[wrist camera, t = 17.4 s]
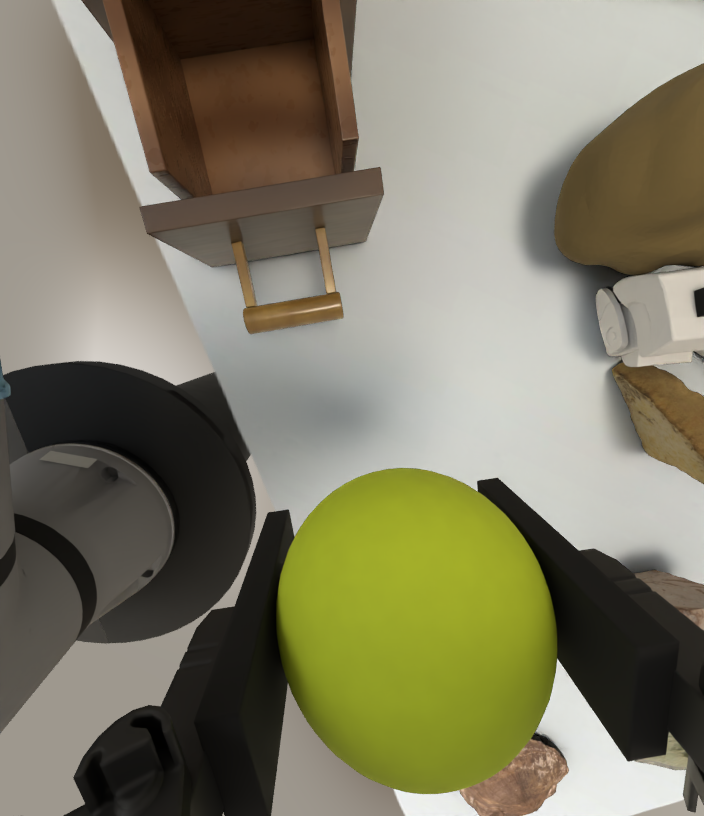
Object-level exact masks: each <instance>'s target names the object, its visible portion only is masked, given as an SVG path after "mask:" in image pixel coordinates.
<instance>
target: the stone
mask: <svg viewBox="0 0 704 816" xmlns="http://www.w3.org/2000/svg"><path fill="white" fill-rule="evenodd" d="M633 574H635V576H636V578H640V579H641V580H642V581H643V582H644V583H646V584H647V585H648V586H649V587H651V590H652V591H656V592H657V593H658V594H659V595H660V596H662V597H663V598H664V599H665V600H667V601H668V602H669V603H670V604H672V605H673V606H674V607H675V608H676V609H678V610H679V611H680V612H681V613H683V614H684V615H685V616H686V617H688V618H689V619H690V620H691V621H692V622H694V623H695V624H696V625H697V626H699V627H700V628H701V629H702V630H704V585H703V584H699V583H695V582H692V581H689V580H687V579H685V578H681V577H677V576H673V575H672V574H670V573H666V572H661V571H657V570H651V571H647V572H641V573H633Z"/></svg>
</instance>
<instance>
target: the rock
mask: <svg viewBox="0 0 704 816" xmlns="http://www.w3.org/2000/svg"><path fill="white" fill-rule="evenodd" d="M612 373H613V376H614V379H615V381H616V383H617V384H618V387H619V388H620V390H621V392H622V396H623V397H624V400H625V402H626V404H627V406H628V408H629V410H630V413H631V420H632V422H633V424H634V425H635V430H636V432H637V433H638V435H639V437H640V438H641V440H642V446H643V448H644V450H645V452H646V453H647V454H648V455H649V456H651V457H653V458H655V459H657V460H659V461H662V462H664V463H666V464H669V465H672V466H675V467H677V468H678V469H679V470H681V471H683V472H685V473H687V474H688V475H690V476H691V477H692V478H694V479H696V480H698V481H699V482H701V483H703V484H704V396H702V395H700V394H699V393H697V392H693V391H691V390H689V389H688V388H687V387H686V386H685V385H684V383H683V382H682V381H681V380H680V379H678V378H677V377H676V376H674V375H673V374H671V373H669V372H667V371H665V370H661V369H658V368H656V367H654V366H653V365H650V366H641V367H629V366H626V365H625V364H624V363H623V362H622V363H620V364H618V365H617V366H615V367H614V368H613V369H612Z"/></svg>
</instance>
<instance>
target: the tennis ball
mask: <svg viewBox="0 0 704 816" xmlns="http://www.w3.org/2000/svg"><path fill="white" fill-rule="evenodd" d="M276 630H277V639H278V646H279V651H280V657H281V662H282V666H283V669H284V672H285V675H286V678H287V681H288V684H289V686H290V689H291V692H292V694H293V696H294V698H295V700H296V702H297V704H298V706H299V708H300V710H301V711H302V713H303V715H304V717H305V718H306V720H307V722H308V723H309V725H310V726H311V727H312V729H313V730H314V732H315V733H316V734H317V735H318V736H319V738H320V739H321V740H322V741H323V742H324V743H325V745H326V746H327V747H328V748H329V749H330V750H331V751H332V752H333V753H334V754H335V755H336V756H337V757H339V758H340V759H341V760H343V761H344V762H345V763H346V764H348V765H349V766H350V767H352V768H353V769H354V770H356V771H357V772H358V773H360V774H362V775H363V776H365V777H367V778H369V779H371V780H373V781H375V782H378V783H380V784H383V785H385V786H388V787H391V788H393V789H397V790H400V791H404V792H410V793H418V794H439V793H447V792H452V791H457V790H461V789H464V788H468V787H471V786H473V785H476V784H478V783H480V782H482V781H484V780H486V779H488V778H490V777H492V776H493V775H495V774H496V773H498V772H499V771H501V770H502V769H503V768H504V767H506V766H507V765H508V764H509V763H510V762H511V761H512V760H513V759H514V758H515V757H516V756H517V755H518V754H519V753H520V751H521V750H522V749H523V748H524V747H525V745H526V744H527V743H528V741H529V740H530V739H531V738H532V736H533V734H534V733H535V731H536V729H537V727H538V726H539V723H540V721H541V719H542V717H543V714H544V712H545V710H546V707H547V705H548V702H549V700H550V696H551V692H552V688H553V683H554V678H555V673H556V664H557V628H556V620H555V614H554V608H553V604H552V599H551V595H550V592H549V589H548V586H547V583H546V580H545V577H544V575H543V572H542V570H541V567H540V565H539V563H538V561H537V559H536V557H535V555H534V553H533V552H532V550H531V548H530V546H529V545H528V543H527V542H526V540H525V538H524V537H523V535H522V534H521V533H520V532H519V530H518V529H517V528H516V526H515V525H514V524H513V523H512V522H511V520H510V519H509V518H508V517H507V516H506V515H505V514H504V513H503V512H502V511H501V510H500V509H499V508H498V507H497V506H496V505H494V504H493V503H492V502H491V501H490V500H489V499H487V498H486V497H485V496H484V495H482V494H481V493H479V492H477V491H476V490H474V489H473V488H471V487H469V486H468V485H466V484H464V483H462V482H460V481H458V480H456V479H453V478H451V477H449V476H445V475H442V474H439V473H435V472H432V471H427V470H421V469H413V468H396V469H386V470H381V471H376V472H372V473H369V474H366V475H363V476H360V477H358V478H355V479H353V480H351V481H349V482H347V483H345V484H344V485H342V486H341V487H339V488H337V489H336V490H334V491H333V492H332V493H331V494H330V495H328V496H327V497H326V498H325V499H324V500H322V501H321V502H320V503H319V504H318V506H317V507H316V508H315V509H314V510H313V511H312V512H311V513H310V514H309V515H308V517H307V518H306V520H305V521H304V523H303V524H302V526H301V527H300V529H299V530H298V532H297V534H296V536H295V538H294V540H293V542H292V544H291V546H290V548H289V550H288V553H287V556H286V559H285V562H284V565H283V568H282V572H281V575H280V581H279V587H278V594H277V601H276Z"/></svg>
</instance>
